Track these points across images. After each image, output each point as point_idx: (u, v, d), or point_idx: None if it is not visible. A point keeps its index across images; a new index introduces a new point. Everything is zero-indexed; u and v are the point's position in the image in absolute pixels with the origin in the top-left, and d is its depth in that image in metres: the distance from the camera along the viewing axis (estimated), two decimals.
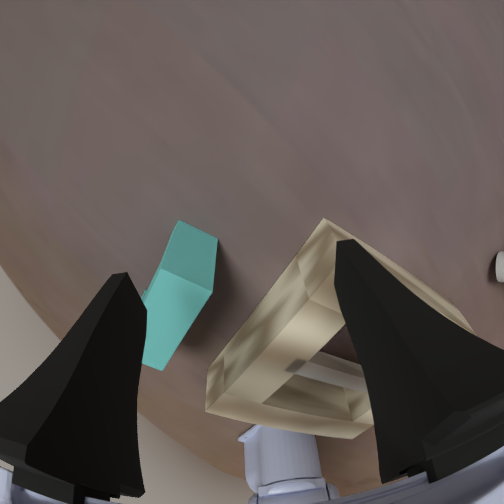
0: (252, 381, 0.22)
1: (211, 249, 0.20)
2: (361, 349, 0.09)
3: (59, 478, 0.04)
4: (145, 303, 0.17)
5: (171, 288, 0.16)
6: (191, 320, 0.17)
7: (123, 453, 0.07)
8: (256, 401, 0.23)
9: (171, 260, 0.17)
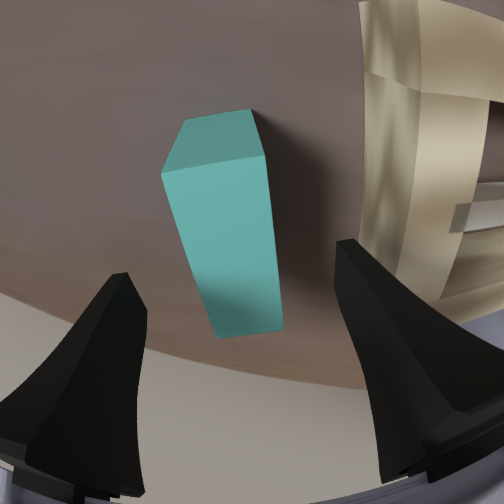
0: (415, 275, 0.13)
1: (244, 119, 0.12)
2: (361, 349, 0.09)
3: (59, 478, 0.04)
4: (185, 245, 0.10)
5: (201, 195, 0.09)
6: (269, 228, 0.10)
7: (123, 453, 0.07)
8: (432, 299, 0.15)
9: (179, 156, 0.09)
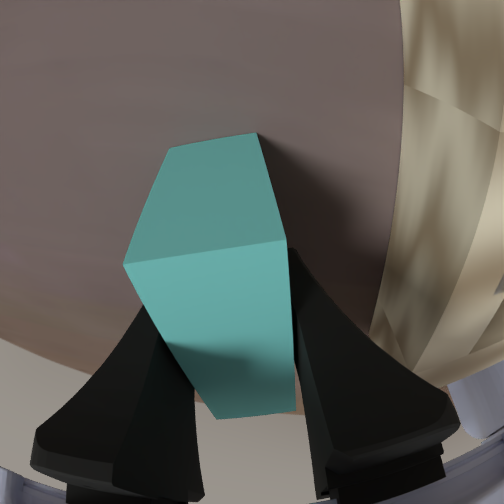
0: (450, 338, 0.10)
1: (249, 153, 0.09)
2: (296, 362, 0.09)
3: (142, 494, 0.04)
4: (170, 345, 0.07)
5: (186, 292, 0.06)
6: (287, 327, 0.07)
7: (188, 456, 0.07)
8: (460, 356, 0.12)
9: (152, 227, 0.06)
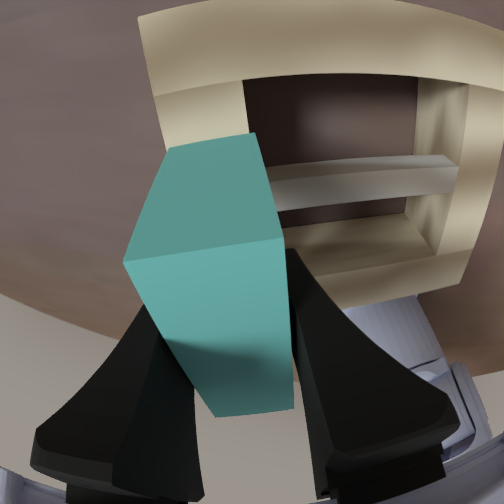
0: None
1: (247, 152, 0.09)
2: (296, 362, 0.09)
3: (141, 494, 0.04)
4: (169, 342, 0.07)
5: (185, 290, 0.06)
6: (285, 324, 0.07)
7: (188, 456, 0.07)
8: None
9: (152, 225, 0.06)
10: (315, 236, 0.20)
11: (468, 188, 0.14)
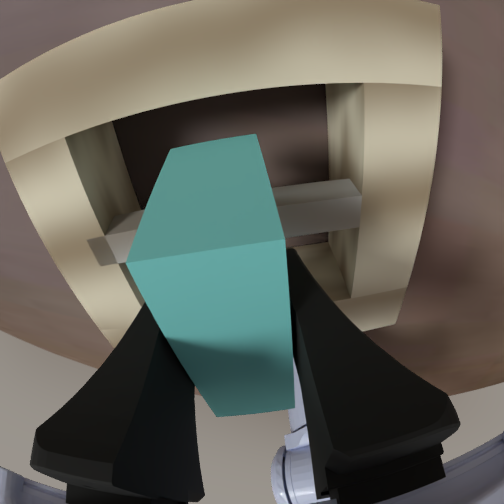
0: (98, 300, 0.15)
1: (248, 154, 0.09)
2: (296, 362, 0.09)
3: (141, 494, 0.04)
4: (171, 342, 0.07)
5: (187, 291, 0.06)
6: (286, 324, 0.07)
7: (188, 456, 0.07)
8: None
9: (155, 226, 0.06)
10: None
11: (383, 220, 0.13)
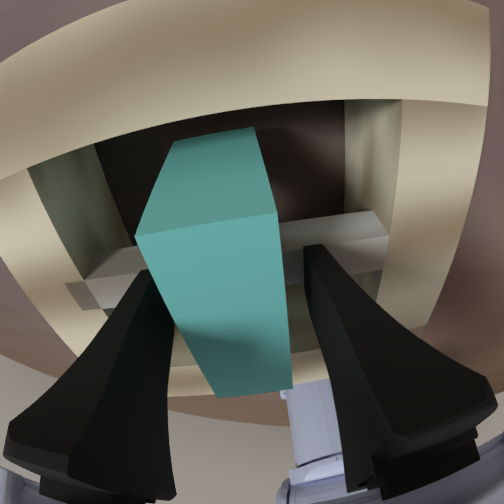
0: (84, 342, 0.13)
1: (246, 144, 0.09)
2: (327, 356, 0.09)
3: (100, 488, 0.04)
4: (174, 316, 0.08)
5: (190, 262, 0.07)
6: (281, 297, 0.08)
7: (157, 455, 0.07)
8: None
9: (161, 206, 0.07)
10: None
11: (410, 260, 0.11)
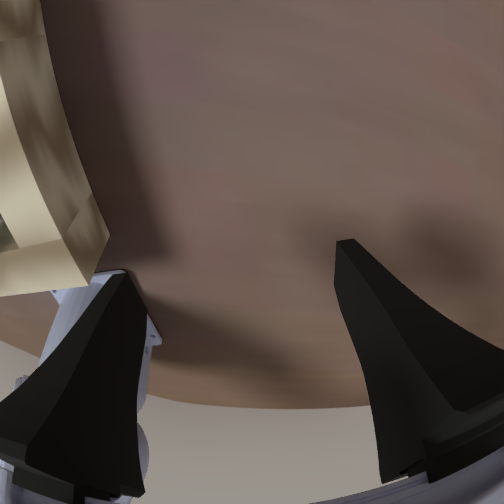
0: None
1: None
2: (361, 349, 0.09)
3: (59, 478, 0.04)
4: None
5: None
6: None
7: (123, 453, 0.07)
8: None
9: None
10: None
11: None
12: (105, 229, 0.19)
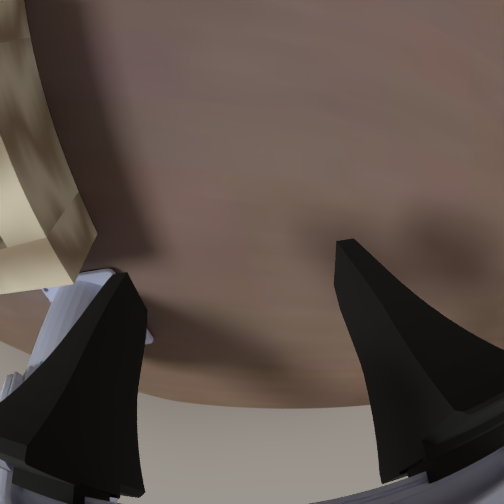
0: None
1: None
2: (361, 349, 0.09)
3: (59, 478, 0.04)
4: None
5: None
6: None
7: (123, 453, 0.07)
8: None
9: None
10: None
11: None
12: (92, 228, 0.19)
